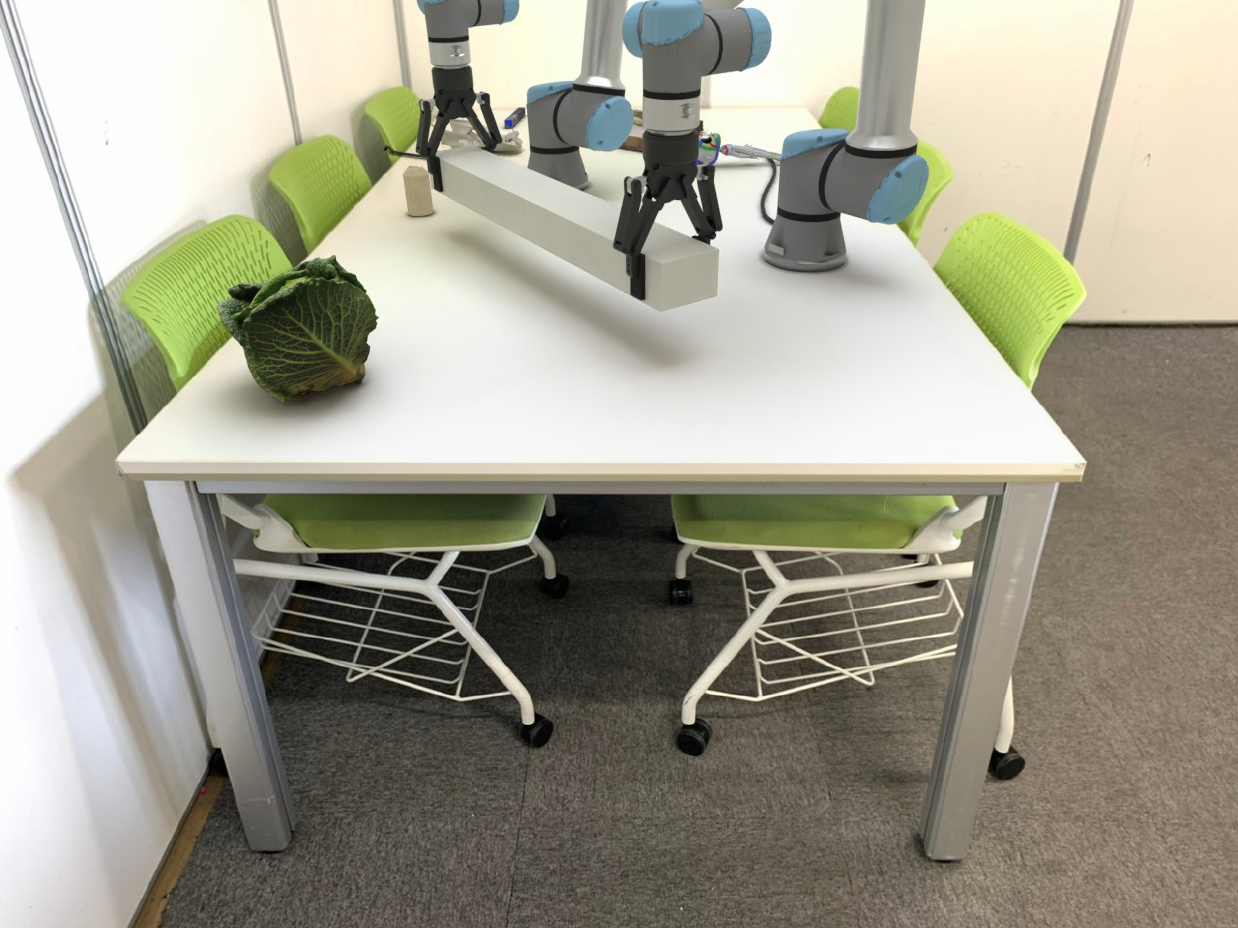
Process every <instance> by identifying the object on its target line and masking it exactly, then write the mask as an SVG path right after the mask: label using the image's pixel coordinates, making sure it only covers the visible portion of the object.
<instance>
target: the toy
mask: <svg viewBox="0 0 1238 928" xmlns="http://www.w3.org/2000/svg"><path fill="white" fill-rule="evenodd" d="M704 136H707V137H704ZM721 139H722V137H721V135H720V134H719V133H717V132H713V133H712V132H710V133H699V156H698V159H697V160H696V165H698V164H699V163H700V162H704V163H707V164H710V165H713V166H714V164H715V163H716V162H717V161H718V158H719V154H722V155H724V156H725V157H730V156H731V157H734V158H736V159H737V158H738V159H751V160H755V159H756V160H760V159H762V158H763V159H767V158H770V159H773V161H776V162H779V163H780V157H781V154H782V153H778V152H775V151H774V152H773V151H768V150H766V149H763V148H757V147H754V146H752V145H749V143H746V144H745V145H737V144H732V143H726V144H722V140H721ZM721 144H722V145H721Z"/></svg>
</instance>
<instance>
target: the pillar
mask: <svg viewBox="0 0 1238 928" xmlns="http://www.w3.org/2000/svg"><path fill="white" fill-rule="evenodd" d="M526 115H527V113H526V106H525V107H517V108H516V109H514V111H513V112H511V113H510V114H509V115H508V116H507V117H506V118H505V119H504V120H503V123H504V125H503V126H504V129H512V128H513V127H514V126H516V125H517V124H518V123H519V122H520V121H521V120H522V119H523V118H524V117H525V116H526Z"/></svg>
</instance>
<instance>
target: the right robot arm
mask: <svg viewBox="0 0 1238 928" xmlns="http://www.w3.org/2000/svg"><path fill="white" fill-rule="evenodd" d="M744 1H745V0H646V1H638V2H636V3H634V4H632V5H631V6H630V7H629V8H628V9H627V13H626V15H625V17H624V20H623V24H622V38H623V41H624V43H623V45H624V46H625V49H626V50H627V51H628V52H629V53H630V54H631V56H634V57H636V58H638V59H642V60H641V62H642V65H641V66H642V107H641V108H642V109H641V110H642V125H643V126H644V127H645V128H646V129H647V130H645V131H644V133H643V151H642V159H643V163H644V169H643V172H642V173H641V175H639V176H635V177H634V176H633V177H632V176H629V175H626V176H625V177H624V178H623V197H622V198H623V199H622V203H621V206H620V207H621V211H620V216H619V220H618V225H617V229H616V234H615V238H614V242H613V248H614V249H615V250H617V251H619V252H621V253H624V254H626V273H627V275H628V276H630V295H631V296H630V295H629V296H630V297H632V296H633V297H632V298H634V297H635V298H637V299H639V300H641V301H642V300H645V255H644V254H642V253H641V250H642V248H643V246H644V244H645V241H646V239H647V237H648V235H649V232H650V230H651V228H652V226H653V223H654V222H656V219H657V216H658V214H659V212H660V211H662V210H663V209H664V206H665V205H666V204H669V203H671V202H673V201H680V203H681V204H682V207H683V209H684V211H685V212H686V215H687V217H688V219H689V221H690V223H691V225H692V227H693V229H694V231H695V233H696V234H695V235H694V234H693V235H691V237H692V238H694V239H697V240H699V241H701V242H704V243H706V244H708V245H711V241H713V240H715V239H716V238H717V232H719V233H720V232H722V231H723V228H724V225H723V220H722V214H721V209H720V205H719V200H718V194H717V190H716V185H715V174H716V167H715V165H714V164H713V165H710V164H707V163H704V162H700V163H699V164H698V165H696V160H697V159H698V156H699V134H700V132H698V131H697V130H696V129H695V128H697V127H698V126H699V122H700V120H701V119H700V117H701V94H702V93H701V92H702V78H703V77H708V76H713V75H714V76H715V75H719V74H727V73H734V72H744V71H746V70H750V69H752V68H755V67H759V66H760V65H761V64H762V63H763V62H764V61H765V60H766V59H767V58H768V55H769V53H770V51H771V47H772V41H773V40H772V39H773V38H772V35H773V34H772V33H773V32H772V27H771V24H770V21H769V19H768V18H767V16H766V15H765V13H763V12H762V10H760V9H758V8H755V7H741V6H739V5H741V4H742V3H743V2H744ZM926 1H927V0H867V3H866V13H865V23H864V33H863V34H864V35H863V46H862V57H861V67H860V68H861V69H860V76H859V77H860V78H859V87H858V98H857V99H858V101H857V113H856V123H855V127H854V129H853V130H852V131H851V132H850V130H847V129H846V128H835V127H834V128H815V129H807V130H800V131H796V132H792V133H790V134H789V135H787V136H786V137H785V138H784V139H783V142H782V147H781V153H780V154H781V157H780V162H779V172H778V173H779V176H778V191H777V204H776V205H777V206H776V216H775V218H774V219H773V218H771V217H770V216H769V215H768V214H767V211H766V205H765V201H766V196H767V195H768V192H769V190H770V188H771V186H772V185H773V183H774V180H775V178H776V175H777V165H776V162H775V160H773V159H770V158H766V159H768V161H769V162H770V164H771V166H772V174H771V177H770V179H769V181H768V183H767V184H766V186H765V188H764V190H763V193H762V195H761V198H760V199H761V200H760V208H761V213H762V217H763V218H764V219H765V220H766V221H767V222H769V223H771V224H772V226H771V229H770V230H769V234H768V236H767V239H766V241H765V243H764V246H763V247H764V248H763V258H764V260H765V261H766V262H768V263H769V264H771V265H772V266H775V267H778V268H781V269H785V270H790V271H798V272H823V271H829V270H833V269H836V268H839V267H840V266H842V265H844V263H845V262H846V257H847V246H846V241H845V235H844V231H843V227H842V221H841V215H842V214H844V215H847V216H851V217H855V218H858V219H862V220H865V221H868V222H869V223H872V224H875V223H878V224H883V225H889V226H890V225H891V226H892V225H896V224H899V223H901V222H902V221H904V220H906V219H907V218H909V216H910V215H911V214H912V213H913V211H915V209H916V207H917V206H918V205H919V203H920V201H921V200H922V198H923V196H924V193H925V191H926V189H927V185H928V181H929V176H930V167H929V164H928V161H927V159H925V158H924V157H922V155H920V154H917V153H918V144H919V138H918V137H917V136H916V134H915V133H914V132H913V131H912V129H911V122H912V115H913V106H914V97H915V91H916V82H917V75H918V68H919V67H918V65H919V57H920V50H921V42H922V34H923V25H924V17H925V9H926ZM695 180H696V185H697V189H698V193H699V194H697V192H696V190H695V188H694V186H693V184H694V182H695ZM645 187H646V189H645ZM698 195H699V199H700V202H699V200H698ZM653 199H654V200H653ZM635 298H634V299H635ZM637 299H636V300H637ZM639 300H638V301H639ZM641 301H640V302H641Z"/></svg>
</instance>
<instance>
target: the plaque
mask: <svg viewBox="0 0 1238 928" xmlns="http://www.w3.org/2000/svg"><path fill="white" fill-rule="evenodd" d="M633 114H634V120H633V126H632V129H631V132H630V134H629V136H628V138H627V140H626V141H625V142H623V144H622V145H621V146H620V147H619V148H620V149H625V150H632V151H640V152H643V133H644V131H645V130H647V129H646V128H645V127H644V126H643V125H642V109H637V108H636V109H635V108H634V109H633ZM695 129H696V130H697V131H698V133H700V132H704V130H705V129H704V120H702V119H700V122H699V126H698V127H697V128H695ZM619 148H618V149H619Z"/></svg>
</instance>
